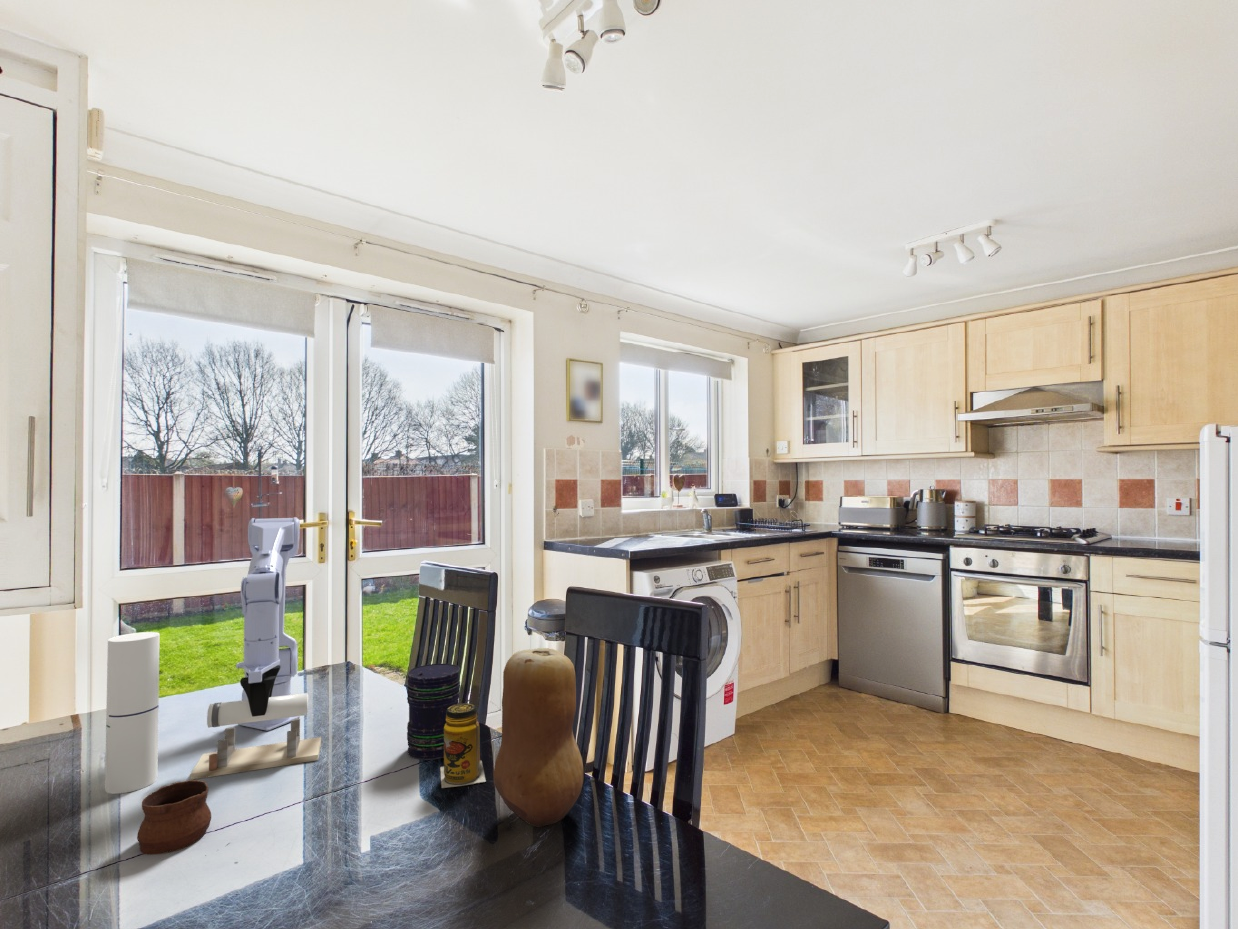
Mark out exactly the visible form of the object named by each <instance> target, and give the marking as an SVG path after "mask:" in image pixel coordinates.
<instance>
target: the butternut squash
mask: <svg viewBox="0 0 1238 929" xmlns="http://www.w3.org/2000/svg"><path fill="white" fill-rule="evenodd" d="M502 673H503V674H502V685H503V686H502V687H503V688H502V698H501V741H500V747H499V751H498V753H497V756H496V759H495V761H494V769H493V771H492V772H493V773H492V774H493V776H492V777H493V786H494V787H495V789H496V791H497V793H498V794H499V796H500V798H501V799H502V800H503V802H504V803H505V805H506V807H507V808H508V809H509V810H510V811H511V812H512V813H514V814H515V815H516V816H517V817H518V818H521V819H522V820H523V821H525V823H527V824H529V825H530V826H534V827H537V828H539V827H541V828H543V827H545V826H547V825H548V826H549V825H553V824H555V823H557V822H559V821H561V820H563V819H564V818H565V816H567V814H568V813H569V812H570V810H571V809H572V808H573V806H574V805H575V804H576V802H577V800H578V799H579V797H580V795H581V793H582V788H583V784H584V764H583V758H582V755H581V752H580V749H579V746H578V744H577V742H576V738H575V735H574V732H573V727H574V726H573V725H574V720H575V715H576V711H577V683H576V682H577V680H576V670H575V665H574V663H573V662H572V660H571V659H570V658H569V657H568V656H567V655H565V654H563V653H562V652H560V651H558V649H557V650H556V649H554V648H549V647H548V648H547V647H542V648H541V647H538V648H537V647H536V648H531V649H522V650H518V651H516V652H514V653H513V654H512V655H511V656H510V657H509V658H508V660H507V662H506V663H505V666H504V668H503V672H502ZM542 826H543V827H542Z"/></svg>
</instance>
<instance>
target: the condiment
mask: <svg viewBox="0 0 1238 929" xmlns="http://www.w3.org/2000/svg"><path fill="white" fill-rule="evenodd" d="M477 712H478V707H477V706H476V705H475V704H473V703H465V702H464V703H458V704H456V705H453V706H450V707H449V708H448V709H447V710H446V722H447V723H446V724H445V726H444V757H443V766H440V768H439V769H440V785H441V789H446V788H454V787H462V786H463V787H464V786H468V785H474V784H480V783H485V782H487V780H486V779H487V778H486V775H485V770H484V766H483V761H482V760H481V758H480V757H481V756H480V755H481V754H480V753H481V752H480V750H481V749H480V748H481V747H480V745H481V744H480V729H481V728H480V722H479V720H478V713H477Z"/></svg>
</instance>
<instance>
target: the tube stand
mask: <svg viewBox="0 0 1238 929" xmlns="http://www.w3.org/2000/svg"><path fill="white" fill-rule="evenodd" d="M300 737H301V718H299V719H291V722H290V730H287V731H286V741H284V742H277V743H271V744H262V745H254V746H249V747H242V748H241V747H240V748H236V746H235V745H236V726H232V727H226V728H224V739H222V740H221V739H220V740H218V741H217V743H216V744H217V745H216V746H217V748H216V751H214V752H208V753H202V755H201V756H200V758H199V760H198V761H197V763H196V765H195V766H194V767H193V769H192V772H191V773H190V780H198V779H204V778H205V779H206V778H211V777H217V776H218V777H219V776H222V775H224V776H225V775H231V774H236V773H243V772H249V771H250V772H251V771H257V770H263V769H270V768H274V767H275V768H276V767H283V766H289V765H297V764H302V763H307V762H314V761H315V762H316V761H319V756H320V752H321V746H322V736H319V737H313V738H305V739H301V738H300Z"/></svg>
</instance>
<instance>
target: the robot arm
mask: <svg viewBox="0 0 1238 929" xmlns="http://www.w3.org/2000/svg"><path fill="white" fill-rule="evenodd" d="M300 524H301V523H300V519H299V518H298V517H297V516H294V517H282V518H281V517H278V518H273V517H272V518H255V517H252V518H251V519H249V521H248V526H247V543H248V545H249V550H250V553H251V555H252V557H251V558H250V563H249V567H248V570H247V571H248V573H247V576H246V577H242V579H241V581H240V584H241V585H240V600H241V601H240V602H241V606H242V616H244V617H243V661H240V662H237V663H236V665H235V669H236V670H237V669H243V671H244V677H241V679H240V681H239V683H240V686H241V688H242V689H243V690H242V693H241V701H242V700H248V701H249V706H250V711H251V714H252V717H254V716H262V715H265V713H266V710H267V706H268V700H269V697H277V696H286V695H291V682H292V681H291V680H292V678H293V677H296V675H297V673H298V667H299V664H298V662H299V652H298V641H297V640H296V639H295V638H293V637H292V636H291V635H289V634H287V633H285V609H286V605H285V604H286V578H287V577H286V575H287V574H286V573H287V571H286V570H287V566H288V564H289V562H290V561H289V560H290V559H291V558H293V557H295V556H298V551H299V550H300V549H299V547H300V546H299V545H300V534H301V533H300V532H301V530H300V528H301V526H300ZM300 717H301V716H296V717H288V718H280V719H272V720H264V721H256V722H248V723H240V724H237V725H238V726H241V727H242V726H243V727H247V728H250V729H251V728H252V729H258V730H262V731H265V732H266V731H272V730H273V729H277V728H279V727H281V726H284V725H286V724H288V723H291V719H299V718H300ZM300 719H301V718H300Z"/></svg>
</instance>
